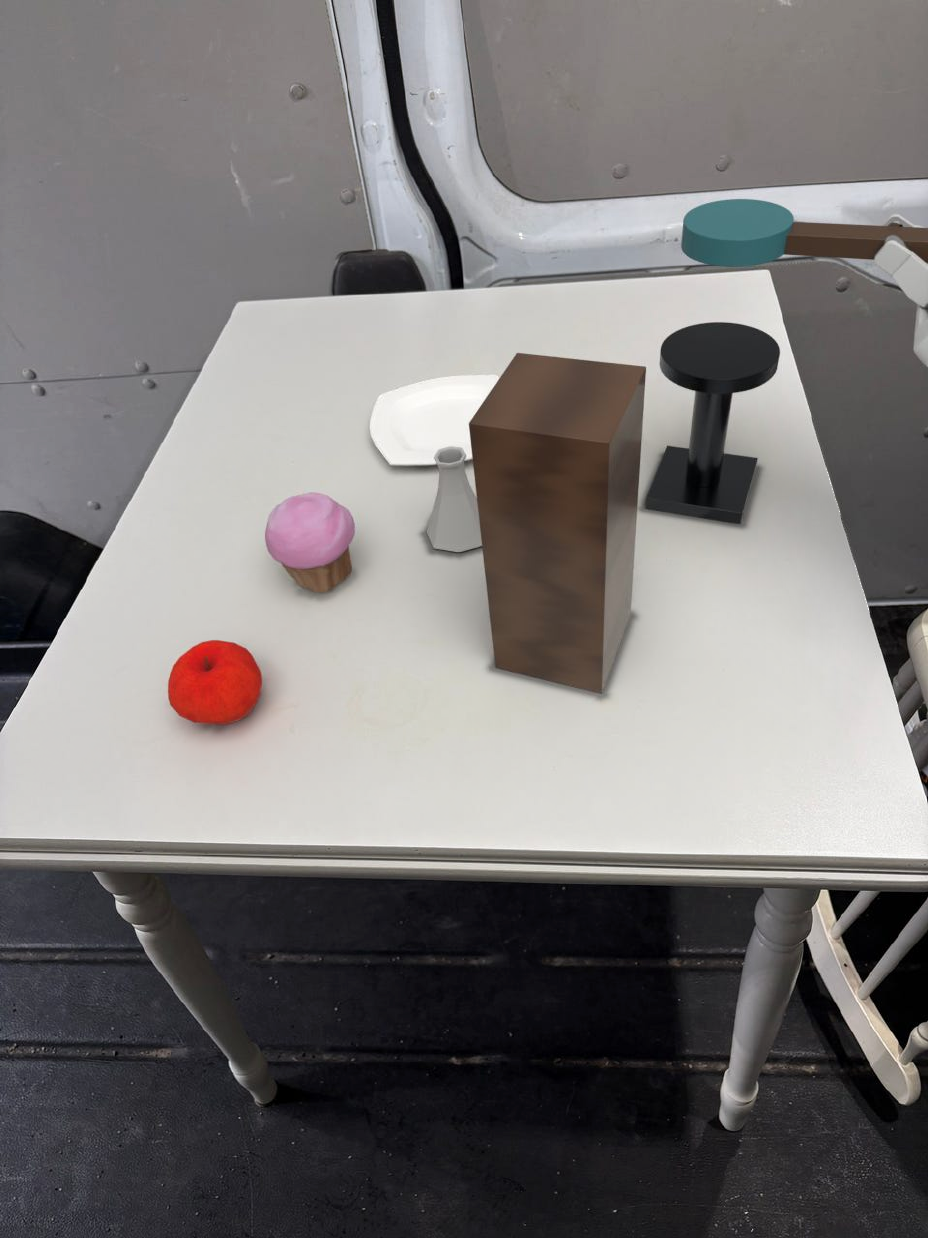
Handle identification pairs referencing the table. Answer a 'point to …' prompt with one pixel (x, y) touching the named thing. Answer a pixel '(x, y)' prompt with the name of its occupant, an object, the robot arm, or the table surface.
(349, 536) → the cupcake
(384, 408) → the plate
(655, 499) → the display stand
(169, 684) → the apple
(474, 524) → the flask
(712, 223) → the disc paddle
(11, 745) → the table surface
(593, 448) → the pedestal
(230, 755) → the table surface
